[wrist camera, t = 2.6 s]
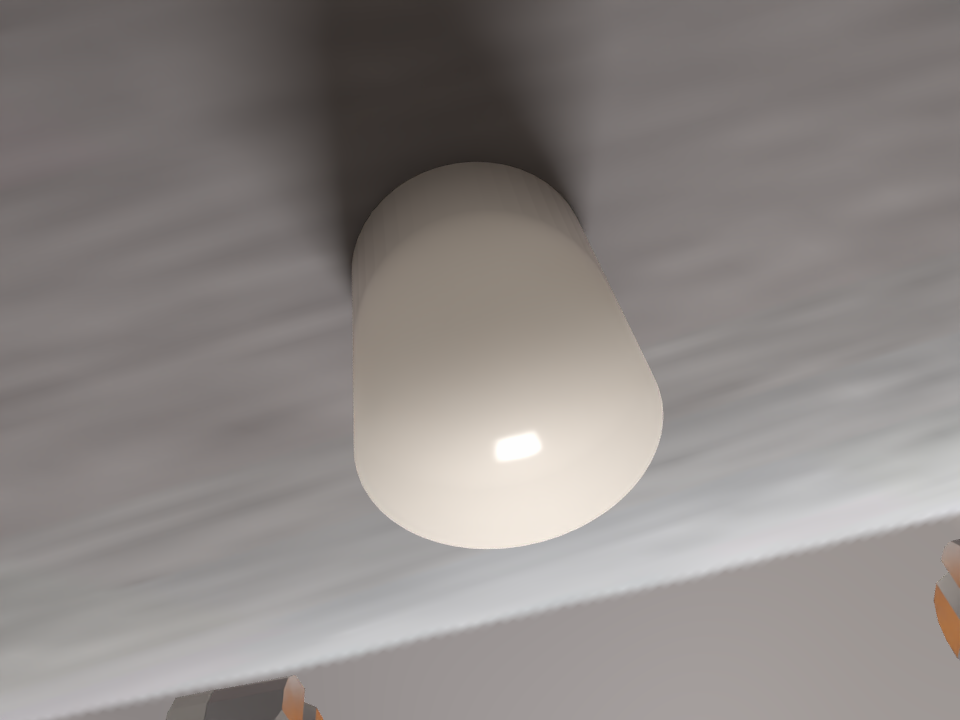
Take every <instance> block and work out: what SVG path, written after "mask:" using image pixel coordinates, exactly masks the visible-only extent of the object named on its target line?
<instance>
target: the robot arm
mask: <svg viewBox="0 0 960 720" xmlns="http://www.w3.org/2000/svg"><path fill="white" fill-rule="evenodd" d="M941 561H942V563H943V564H944V565H945V567H946V569H947V570H948V573H947V574H946V575H945V576H943V578H942V579H940V580H939V581H938V582H937V583H936V588H935V595H934V604H935V609H936V614H937V618H938V622H939V625H940V627H941V629H942V631H943V634H944V636H945V638H946V640H947V642H948V644H949V645H950V647H951V649H952V650H953V652H954V654H955V655H956V657H957V658H958V659H960V539H958V540H954V541H951V542H949V543H948V544H947V545H946V546H945V547H944V550H943V554H942V559H941ZM304 693H305V688H304V686H303V685H302V684H301V682H300V681H299V679H298V678H297V676H296V675H291V676H286V677H281V678H276V679H271V680H266V681H261V682H255V683H250V684H245V685H240V686H235V687H230V688H224V689H216V690H211V691H206V692H202V693H197V694H192V695H187V696H182V697H177V698H175V700H174V702H173V704H172V706H171V707H170V709H169V711H168V713H167V717H166V720H323V718H322V716H321V715H320V712H319V711H318V709H317V708H316V707H315V706H312V705H310V704H307V703H305V702H304Z"/></svg>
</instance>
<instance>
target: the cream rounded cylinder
mask: <svg viewBox="0 0 960 720" xmlns="http://www.w3.org/2000/svg"><path fill="white" fill-rule="evenodd" d="M352 329H353V411H354V459H355V464H356V469H357V473H358V475H359V478H360V480H361V483H362V485H363V487H364V489H365V491H366V492H367V494H368V495H369V497H370V499H371V500H372V501H373V502H374V503H375V505H376V506H377V507H378V508H379V509H380V510H381V511H382V512H383V513H384V514H385V515H386V516H388V517H389V518H390V519H391V520H392V521H394V522H395V523H397V524H398V525H400V526H401V527H403V528H404V529H406V530H408V531H410V532H412V533H414V534H416V535H418V536H421V537H423V538H426V539H429V540H432V541H435V542H438V543H443V544H447V545H451V546H457V547H464V548H475V549H499V548H511V547H518V546H525V545H529V544H534V543H538V542H543V541H546V540H549V539H552V538H555V537H558V536H561V535H563V534H566V533H568V532H571V531H573V530H575V529H577V528H579V527H581V526H583V525H585V524H587V523H589V522H591V521H593V520H594V519H596V518H597V517H599V516H600V515H602V514H603V513H605V512H606V511H608V510H609V509H610V508H611V507H613V506H614V505H615V504H616V503H618V502H619V501H620V500H621V499H622V498H623V497H624V496H625V495H626V494H627V493H628V492H629V491H630V490H631V489H632V488H633V487H634V486H635V485H636V483H637V482H638V481H639V480H640V478H641V477H642V476H643V474H644V473H645V471H646V469H647V468H648V466H649V465H650V463H651V461H652V459H653V457H654V454H655V452H656V450H657V448H658V444H659V440H660V437H661V433H662V425H663V405H662V399H661V395H660V391H659V387H658V385H657V383H656V381H655V378H654V376H653V374H652V372H651V370H650V368H649V366H648V364H647V361H646V359H645V357H644V355H643V353H642V351H641V349H640V347H639V345H638V343H637V341H636V339H635V337H634V335H633V333H632V330H631V328H630V326H629V324H628V322H627V320H626V318H625V316H624V314H623V312H622V310H621V308H620V306H619V304H618V302H617V300H616V297H615V295H614V293H613V291H612V289H611V287H610V285H609V283H608V281H607V279H606V277H605V275H604V273H603V271H602V269H601V266H600V264H599V262H598V260H597V258H596V256H595V254H594V252H593V250H592V248H591V246H590V244H589V242H588V240H587V238H586V236H585V233H584V231H583V229H582V227H581V225H580V223H579V221H578V219H577V217H576V215H575V213H574V212H573V210H572V209H571V207H570V206H569V204H568V203H567V202H566V201H565V199H564V198H563V197H562V196H561V195H560V194H559V193H558V192H557V191H556V190H555V189H553V188H552V187H551V186H550V185H549V184H547V183H546V182H544V181H543V180H541V179H539V178H538V177H536V176H534V175H532V174H530V173H528V172H525V171H523V170H521V169H518V168H515V167H511V166H508V165H504V164H497V163H490V162H464V163H455V164H450V165H446V166H441V167H437V168H435V169H432V170H429V171H426V172H424V173H421V174H419V175H417V176H415V177H413V178H411V179H410V180H408V181H406V182H405V183H403V184H402V185H400V186H399V187H397V188H396V189H394V190H393V191H392V192H391V193H390V194H389V195H388V196H387V197H385V198H384V199H383V200H382V201H381V202H380V204H379V205H378V206H377V207H376V208H375V209H374V211H373V212H372V213H371V215H370V216H369V218H368V219H367V221H366V222H365V224H364V226H363V228H362V230H361V232H360V234H359V237H358V239H357V242H356V246H355V249H354V253H353V260H352Z"/></svg>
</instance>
